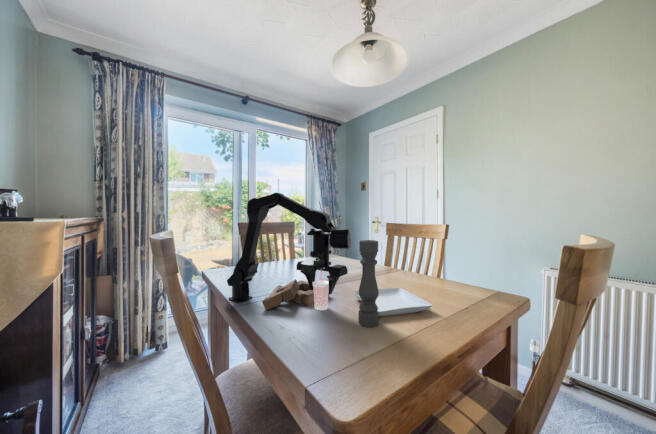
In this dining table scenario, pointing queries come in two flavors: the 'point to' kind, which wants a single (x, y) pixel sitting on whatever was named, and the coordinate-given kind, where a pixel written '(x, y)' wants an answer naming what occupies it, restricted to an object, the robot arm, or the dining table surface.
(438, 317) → the dining table surface
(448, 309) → the dining table surface
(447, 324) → the dining table surface
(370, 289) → the candle holder
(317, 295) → the beverage cup
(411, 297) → the salad plate
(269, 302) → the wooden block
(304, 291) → the holder block
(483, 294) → the dining table surface
